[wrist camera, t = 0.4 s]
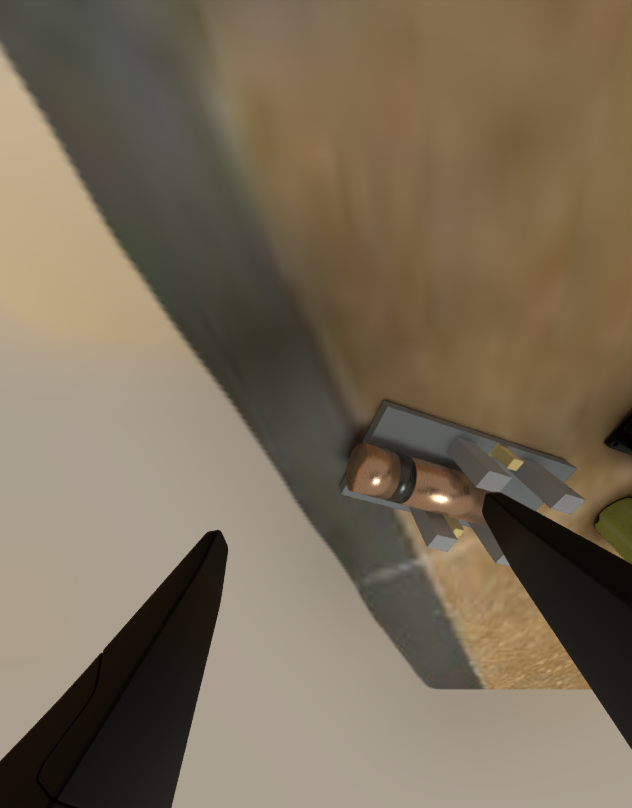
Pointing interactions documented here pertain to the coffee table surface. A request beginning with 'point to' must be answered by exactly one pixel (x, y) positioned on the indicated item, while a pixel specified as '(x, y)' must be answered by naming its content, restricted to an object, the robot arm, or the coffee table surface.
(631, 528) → the plant pot
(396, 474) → the copper tube
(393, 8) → the coffee table surface
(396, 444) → the board
